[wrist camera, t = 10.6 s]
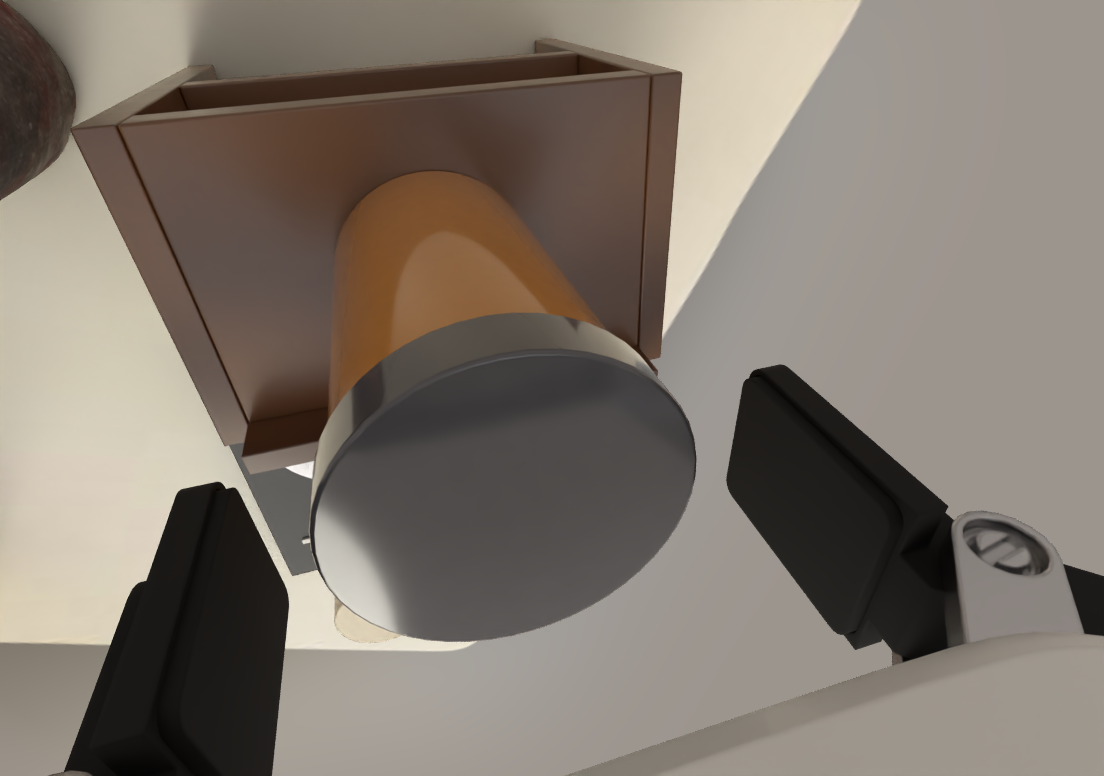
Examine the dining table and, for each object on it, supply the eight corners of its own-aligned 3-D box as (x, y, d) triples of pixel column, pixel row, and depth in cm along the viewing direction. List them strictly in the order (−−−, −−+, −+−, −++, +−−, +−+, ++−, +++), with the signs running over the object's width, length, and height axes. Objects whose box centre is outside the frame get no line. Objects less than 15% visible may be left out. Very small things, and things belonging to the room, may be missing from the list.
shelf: (186, 66, 24) (36, 145, 12) (554, 38, 27) (714, 78, 16) (265, 286, 30) (214, 483, 18) (561, 241, 33) (682, 383, 21)
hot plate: (204, 350, 31) (194, 377, 29) (430, 311, 33) (436, 333, 31) (301, 561, 41) (298, 592, 39) (468, 519, 44) (475, 546, 41)
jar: (297, 177, 16) (242, 404, 7) (532, 149, 17) (719, 314, 9) (355, 378, 20) (364, 681, 11) (543, 342, 21) (681, 588, 12)
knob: (348, 557, 39) (349, 657, 33) (325, 508, 36) (322, 608, 30) (420, 537, 40) (433, 631, 34) (403, 487, 37) (414, 581, 31)
